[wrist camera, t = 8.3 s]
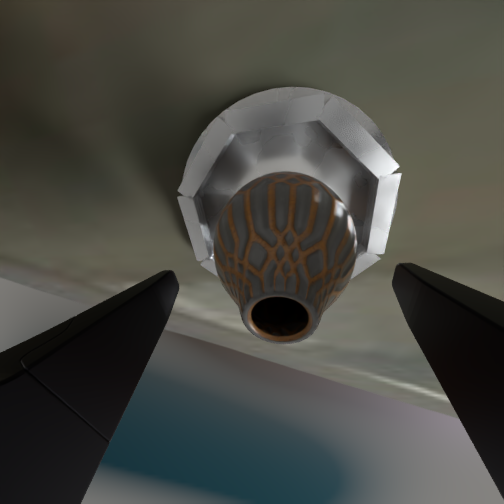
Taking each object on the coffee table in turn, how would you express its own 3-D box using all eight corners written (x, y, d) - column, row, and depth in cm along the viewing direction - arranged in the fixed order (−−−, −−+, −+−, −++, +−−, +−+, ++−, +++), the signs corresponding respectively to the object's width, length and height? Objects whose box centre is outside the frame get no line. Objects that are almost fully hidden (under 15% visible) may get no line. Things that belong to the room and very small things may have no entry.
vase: (320, 267, 15) (353, 397, 8) (230, 253, 16) (181, 362, 8) (352, 170, 12) (471, 238, 4) (235, 156, 12) (155, 194, 5)
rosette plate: (416, 64, 10) (447, 48, 8) (372, 287, 17) (382, 307, 15) (159, 114, 13) (137, 110, 11) (211, 289, 19) (203, 306, 17)
